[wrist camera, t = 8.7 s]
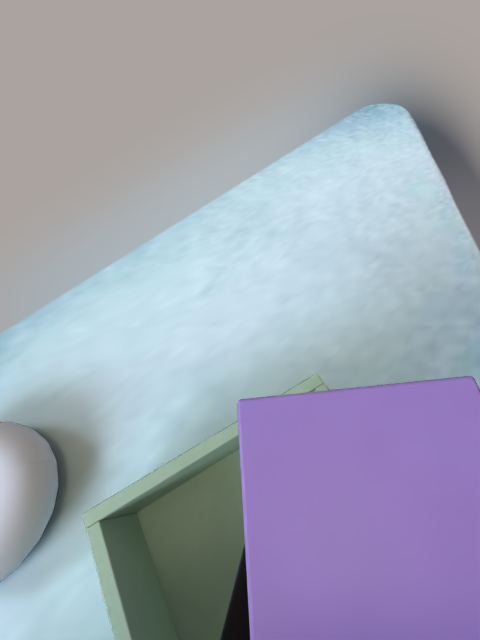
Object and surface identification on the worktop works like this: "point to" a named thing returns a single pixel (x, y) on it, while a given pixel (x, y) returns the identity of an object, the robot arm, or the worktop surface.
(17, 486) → the donut
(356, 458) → the purple rectangular block
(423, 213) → the worktop surface
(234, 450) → the green square tray
